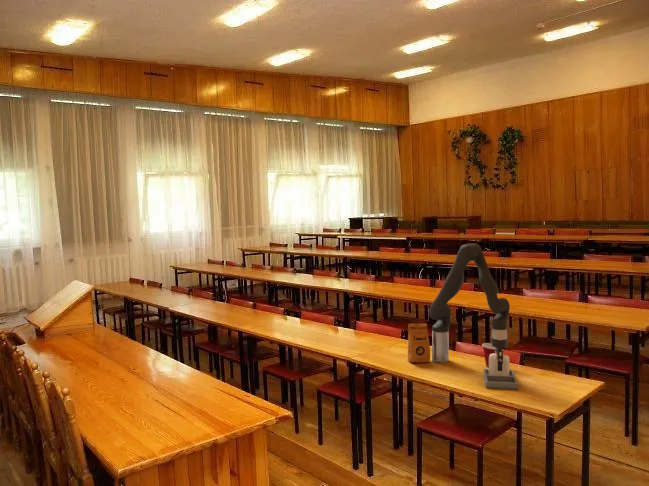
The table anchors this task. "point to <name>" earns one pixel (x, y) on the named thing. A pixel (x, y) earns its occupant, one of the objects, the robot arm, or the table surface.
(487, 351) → the plastic cup
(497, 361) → the robot arm
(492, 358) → the beige rounded slab
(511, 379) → the grey divided tray
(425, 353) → the coffee package
